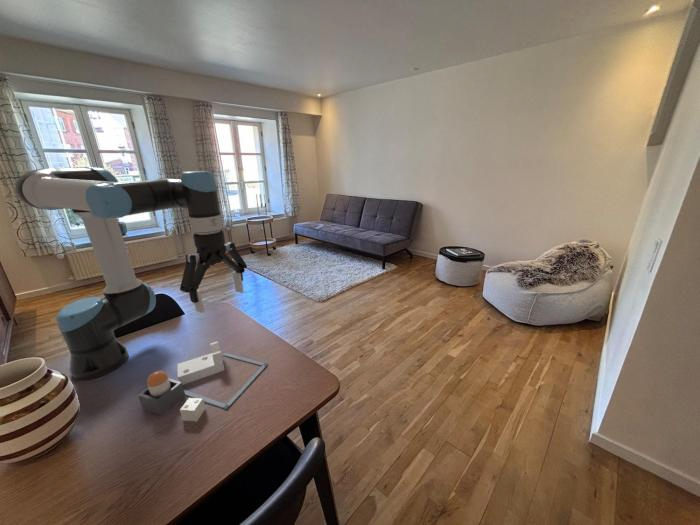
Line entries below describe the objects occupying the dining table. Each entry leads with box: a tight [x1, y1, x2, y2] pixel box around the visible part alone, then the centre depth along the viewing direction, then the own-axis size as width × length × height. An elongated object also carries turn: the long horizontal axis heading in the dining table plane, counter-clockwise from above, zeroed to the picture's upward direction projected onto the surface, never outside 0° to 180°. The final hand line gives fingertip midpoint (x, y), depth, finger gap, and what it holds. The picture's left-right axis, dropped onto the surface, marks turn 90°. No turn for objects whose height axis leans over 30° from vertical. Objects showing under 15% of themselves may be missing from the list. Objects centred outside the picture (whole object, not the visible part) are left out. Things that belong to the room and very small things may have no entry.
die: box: [179, 397, 206, 422], centre depth 77 cm, size 4×4×4 cm
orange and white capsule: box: [146, 370, 171, 399], centre depth 79 cm, size 5×5×8 cm
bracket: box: [177, 340, 225, 385], centre depth 92 cm, size 13×7×8 cm, turn 121°
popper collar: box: [137, 377, 186, 417], centre depth 81 cm, size 8×8×5 cm
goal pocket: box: [184, 352, 268, 411], centre depth 90 cm, size 18×19×1 cm
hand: (221, 301), depth 83 cm, fingers open, 13 cm apart
